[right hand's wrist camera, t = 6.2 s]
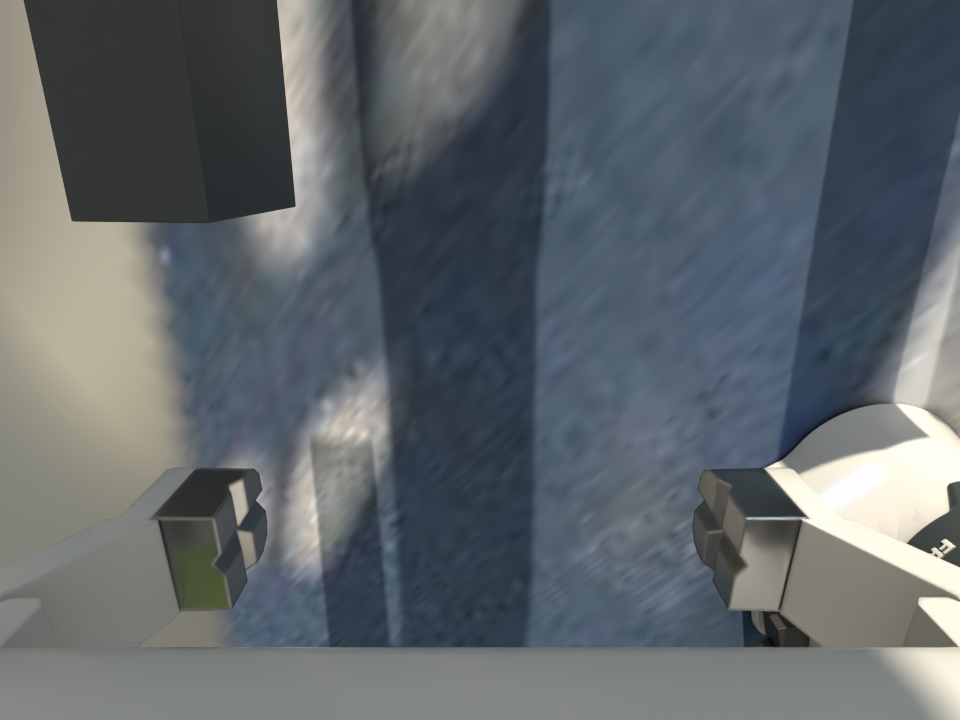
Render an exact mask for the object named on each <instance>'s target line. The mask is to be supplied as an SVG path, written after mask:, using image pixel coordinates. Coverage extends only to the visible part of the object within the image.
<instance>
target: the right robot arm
mask: <svg viewBox="0 0 960 720" xmlns="http://www.w3.org/2000/svg"><path fill="white" fill-rule="evenodd" d="M261 491H262V486H261V481H260V476H259V473H258V472H257V471H256V470H255V469H235V468H198V467H192V468H171V469H167V470H166V471H165V472H164V473H163V474H162V475H161V476H160V477H159V478H158V479H157V480H156V481H155V482H154V483H153V484H152V485H151V486H150V487H149V488H148V489H147V490H146V491H145V492H144V493H143V494H142V495H141V496H140V497H139V498H138V499H137V500H136V501H135V502H134V503H133V504H132V505H131V506H130V507H129V508H128V509H127V510H126V511H125V512H124V513H123V514H122V515H121V516H120V517H119V518H118V519H108V520H105V521H103V522H101V523H99V524H96V525H94V526H92V527H90V528H87V529H85V530H83V531H81V532H78V533H76V534H74V535H72V536H69V537H67V538H65V539H63V540H61V541H58V542H56V543H54V544H51V545H49V546H47V547H45V548H42V549H40V550H38V551H36V552H33V553H31V554H29V555H27V556H24V557H22V558H20V559H18V560H15V561H13V562H11V563H9V564H6V565H4V566H2V567H0V720H960V438H959V437H958V436H957V435H956V434H955V433H954V431H953V430H952V429H951V428H950V427H949V426H948V425H947V424H946V423H945V422H944V421H943V420H942V419H940V418H939V417H937V416H936V415H934V414H932V413H931V412H928V411H926V410H924V409H921V408H918V407H914V406H909V405H903V404H877V405H870V406H865V407H861V408H858V409H854V410H851V411H848V412H846V413H843V414H841V415H839V416H837V417H835V418H833V419H831V420H829V421H827V422H826V423H824V424H823V425H821V426H819V427H818V428H817V429H815V430H814V431H813V432H811V433H810V434H809V435H808V436H807V437H806V438H805V439H803V440H802V441H801V442H800V444H799V445H798V446H797V447H796V448H795V449H794V450H793V451H792V452H791V453H790V454H789V455H787V456H786V457H785V458H784V459H782V460H781V461H779V462H777V463H775V464H773V465H771V466H769V467H767V468H749V469H710V470H703V472H702V474H701V476H700V480H699V486H698V491H699V493H700V494H701V496H702V497H703V499H704V501H703V502H702V503H701V504H700V505H699V506H698V508H697V509H696V510H695V511H694V518H693V537H694V543H695V547H696V550H697V553H698V555H699V557H700V559H701V561H702V563H704V564H705V565H707V566H708V567H710V568H711V569H713V570H714V575H713V583H714V585H715V587H716V588H717V590H718V592H719V594H720V596H721V597H722V599H723V601H724V603H725V605H726V606H727V608H728V610H744V611H751V615H752V622H753V624H754V625H755V627H756V628H757V629H758V630H759V631H760V632H761V633H762V634H764V635H766V640H764V641H762V642H761V643H759V644H758V645H756V646H754V647H139V646H140V645H141V644H143V643H144V642H145V641H146V640H148V639H149V638H150V637H151V636H153V635H154V634H155V633H157V632H158V631H159V630H160V629H162V628H163V627H164V626H166V625H167V624H168V623H169V622H171V621H172V620H173V619H175V618H176V617H177V616H178V615H180V611H215V610H232V608H233V606H234V605H235V603H236V601H237V599H238V597H239V596H240V594H241V592H242V590H243V588H244V586H245V585H246V583H247V575H246V570H247V569H249V568H250V567H252V566H253V565H255V564H256V563H258V561H259V559H260V557H261V555H262V553H263V550H264V546H265V542H266V538H267V517H266V511H265V510H264V509H263V508H262V507H261V505H260V504H259V503H258V502H257V501H256V499H257V497H258V496H259V494H260V493H261Z"/></svg>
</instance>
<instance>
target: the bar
mask: <svg viewBox="0 0 960 720" xmlns="http://www.w3.org/2000/svg"><path fill="white" fill-rule="evenodd" d="M24 4H25V8H26V13H27V18H28V22H29V27H30V31H31V36H32V40H33V45H34V50H35V54H36V59H37V63H38V68H39V73H40V77H41V82H42V86H43V91H44V95H45V100H46V105H47V109H48V114H49V118H50V123H51V128H52V132H53V137H54V141H55V146H56V151H57V155H58V160H59V164H60V169H61V174H62V178H63V183H64V187H65V192H66V197H67V201H68V206H69V210H70V215H71V219H72V221H84V222H166V223H211V222H216V221H222V220H227V219H232V218H238V217H243V216H248V215H254V214H259V213H264V212H270V211H275V210H280V209H286V208H291V207H295V206H296V205H295V194H294V183H293V173H292V162H291V151H290V140H289V129H288V118H287V107H286V96H285V85H284V75H283V64H282V53H281V42H280V31H279V20H278V9H277V0H24Z"/></svg>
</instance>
